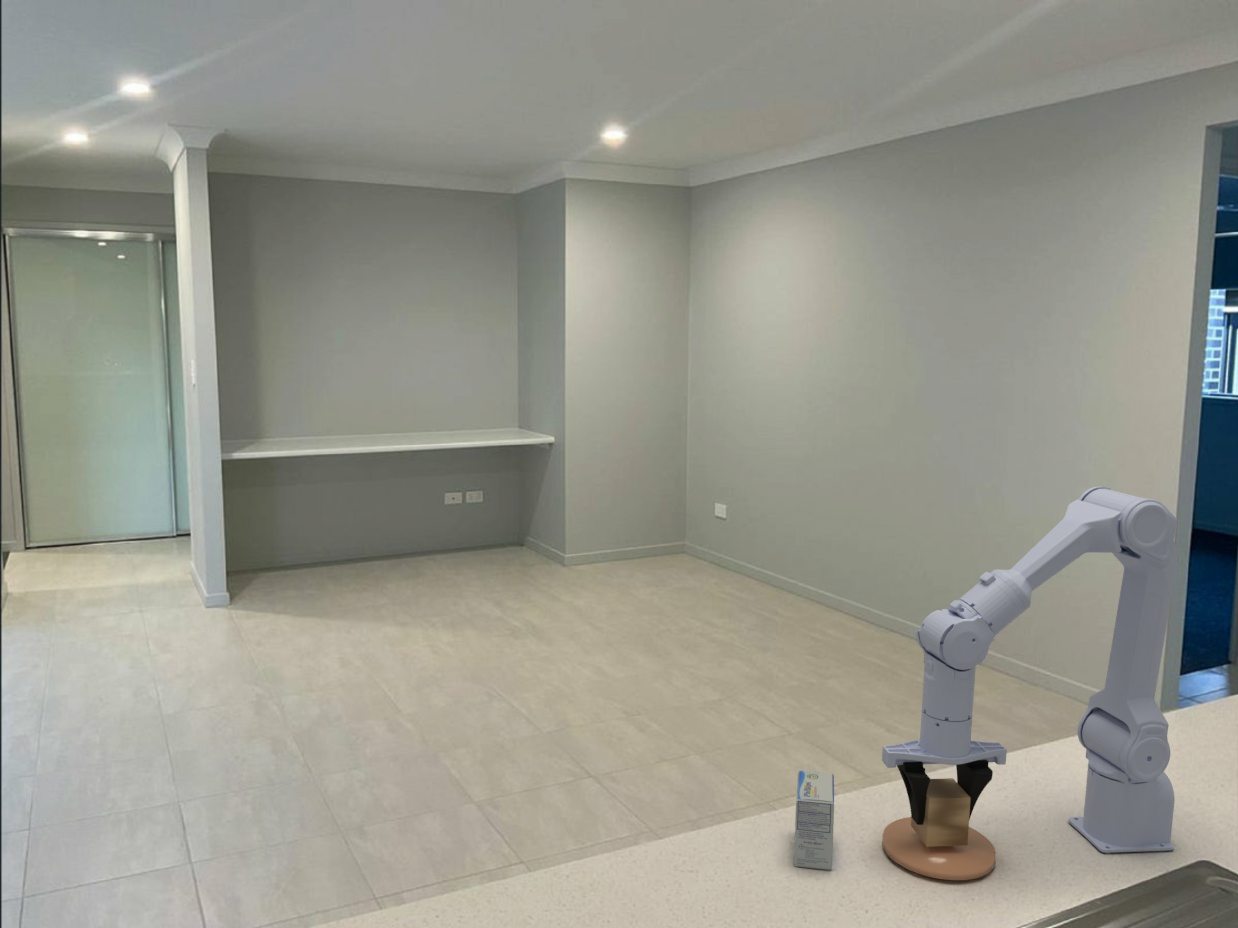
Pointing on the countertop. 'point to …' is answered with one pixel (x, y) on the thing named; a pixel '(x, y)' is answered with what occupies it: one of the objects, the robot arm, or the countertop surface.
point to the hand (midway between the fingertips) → (939, 819)
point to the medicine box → (814, 820)
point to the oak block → (944, 815)
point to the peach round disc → (938, 853)
